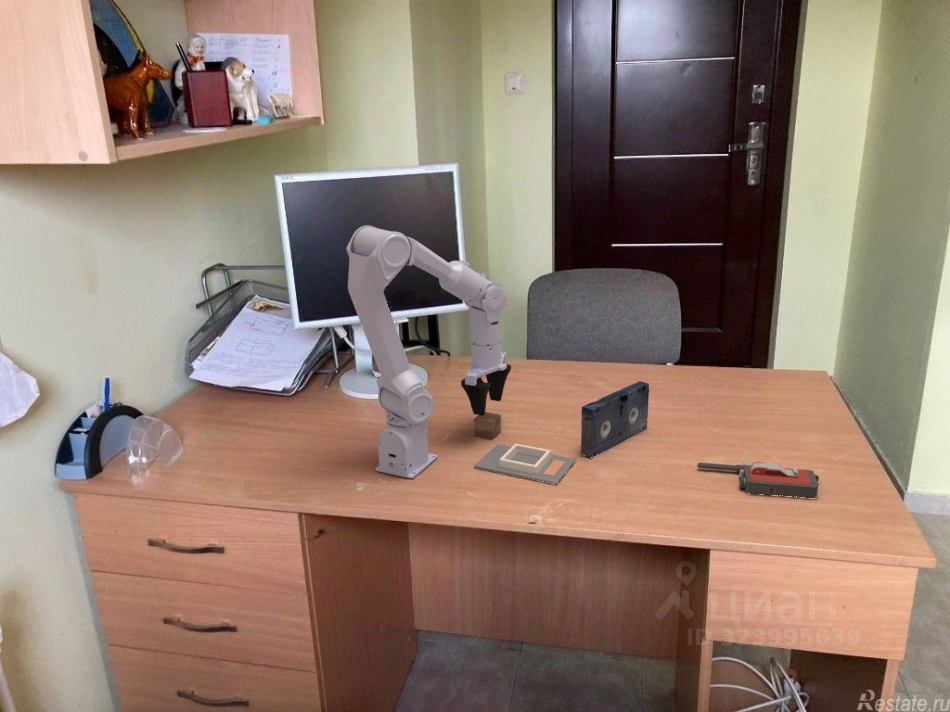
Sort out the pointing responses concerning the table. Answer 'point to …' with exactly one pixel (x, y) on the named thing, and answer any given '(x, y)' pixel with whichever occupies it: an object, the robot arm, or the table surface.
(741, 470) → the walkie-talkie
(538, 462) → the pocket board
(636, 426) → the vhs cassette tape
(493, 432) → the walnut block
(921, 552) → the table surface
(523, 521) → the table surface
